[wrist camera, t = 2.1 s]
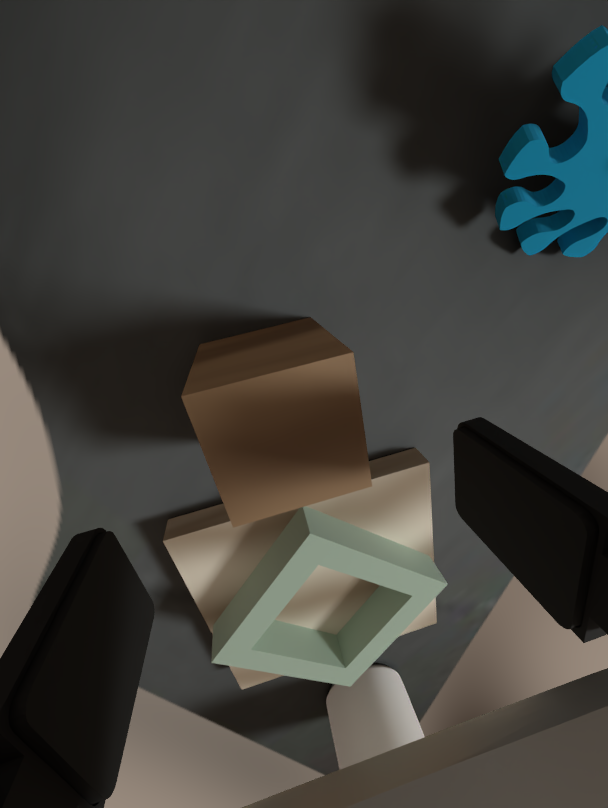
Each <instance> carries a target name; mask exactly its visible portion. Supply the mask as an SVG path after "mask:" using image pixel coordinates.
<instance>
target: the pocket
mask: <svg viewBox="0 0 608 808" xmlns="http://www.w3.org/2000/svg"><path fill="white" fill-rule="evenodd" d="M318 565H320V566H323V567H326V568H329V569H332V570H335V571H338V572H342V573H345V574H348V575H351V576H354V577H357V578H360V579H363V580H366V581H369V582H372V583H375V584H378V585H380V586H379V587H378V588H377V589H376V590H375V592H374V593H373V594H372V595H371V596H370V597H369V598H368V600H367V601H366V602H365V603H364V604H363V605H362V606H361V607H360V609H359V610H358V611H357V612H356V613H355V614H354V615H353V617H352V618H351V619H350V620H349V621H348V622H347V623H346V625H345V626H344V627H343V628H342V629H341V630H340V631H339V632H338V634H337V635H335V634H331V633H327V632H323V631H319V630H314V629H310V628H306V627H302V626H298V625H294V624H290V623H285V622H281V621H277V620H275V619H276V617H277V616H278V615H279V614H280V612H281V611H282V610H283V609H284V607H285V606H286V605H287V604H288V602H289V601H290V600H291V599H292V597H293V596H294V595H295V594H296V592H297V591H298V590H299V589H300V587H301V586H302V585H303V584H304V582H305V581H306V580H307V579H308V577H309V576H310V575H311V574H312V572H313V571H314V570H315V569H316V567H317V566H318ZM447 585H448V584H447V582H446V581H445V579H444V578H443V576H442V574H441V573H440V571H439V570H438V568H437V567H436V565H435V564H434V562H433V561H432V559H431V558H430V556H429V555H426V554H424V553H421V552H419V551H416V550H414V549H411V548H409V547H406V546H404V545H401V544H399V543H396V542H394V541H391V540H389V539H386V538H384V537H382V536H379V535H377V534H374V533H372V532H369V531H367V530H364V529H362V528H359V527H357V526H354V525H352V524H349V523H347V522H344V521H342V520H339V519H337V518H334V517H332V516H329V515H327V514H324V513H322V512H319V511H317V510H314V509H312V508H309V507H307V506H305V507H301V508H299V509H298V511H297V512H296V513H295V515H294V516H293V518H292V519H291V520H290V522H289V523H288V524H287V526H286V527H285V528H284V530H283V531H282V532H281V534H280V535H279V537H278V538H277V539H276V541H275V542H274V543H273V545H272V546H271V547H270V549H269V550H268V552H267V553H266V554H265V556H264V557H263V558H262V560H261V561H260V562H259V564H258V565H257V566H256V568H255V569H254V571H253V572H252V573H251V575H250V576H249V577H248V579H247V580H246V581H245V583H244V584H243V586H242V587H241V588H240V590H239V591H238V592H237V594H236V595H235V596H234V598H233V599H232V600H231V602H230V603H229V605H228V606H227V607H226V609H225V610H224V611H223V613H222V614H221V615H220V617H219V618H218V619H217V621H216V622H215V624H214V625H213V640H212V660H211V663H216V664H222V665H227V666H233V667H239V668H245V669H251V670H256V671H262V672H268V673H274V674H280V675H285V676H291V677H297V678H303V679H309V680H314V681H320V682H326V683H332V684H338V685H343V686H349V687H351V686H352V685H353V684H354V683H355V681H356V680H357V679H358V678H359V677H360V676H361V675H362V674H363V673H364V672H365V671H366V670H367V669H368V668H369V667H370V666H371V665H372V664H373V663H374V661H375V660H376V659H377V658H378V657H379V656H380V655H381V654H382V653H383V652H384V651H385V650H386V649H387V648H388V647H389V646H390V645H391V644H392V643H393V641H394V640H395V639H396V638H397V637H398V636H399V635H400V634H401V633H402V632H403V631H404V630H405V629H406V628H407V627H408V626H409V625H410V624H411V623H412V621H413V620H414V619H415V618H416V617H417V616H418V615H419V614H420V613H421V612H422V611H423V610H424V609H425V608H426V607H427V606H428V605H429V604H430V602H431V601H432V600H433V599H434V598H435V597H436V596H437V595H438V594H439V593H440V592H441V591H442V590H443V589H444V588H445V587H446V586H447Z"/></svg>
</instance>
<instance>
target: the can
mask: <svg viewBox="0 0 608 808" xmlns="http://www.w3.org/2000/svg"><path fill="white" fill-rule="evenodd" d="M326 705H327V710H328V716H329V721H330V726H331V730H332V735H333V740H334V745H335V750H336V755H337V759H338V764H339V769H343V768H346V767H348V766H351V765H353V764H356V763H359V762H361V761H364V760H366V759H369V758H372V757H374V756H377V755H379V754H382V753H385V752H387V751H390V750H392V749H395V748H398V747H400V746H403V745H406V744H408V743H411V742H413V741H416V740H419V739H421V738H424V734H423V732H422V729H421V727H420V724H419V722H418V719H417V717H416V714H415V712H414V709H413V707H412V704H411V702H410V699H409V697H408V694H407V692H406V689H405V687H404V685H403V682H402V680H401V678H400V675H399V674H398V673H397V672H396V671H395V670H393V669H392V668H390V667H389V666H386V665H382V664H372V665H371V666H370V667H369V668H368V669H367V670H366V671H365V672H364V673H363V674H362V675H361V676H360V677H359V678H358V679H357V680H356V681H355V683H354V684H353V685H352V686H351V687H349V686H343V685H338V684H333V685H332V686H331V688H330V690H329V693H328V696H327V699H326Z"/></svg>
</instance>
